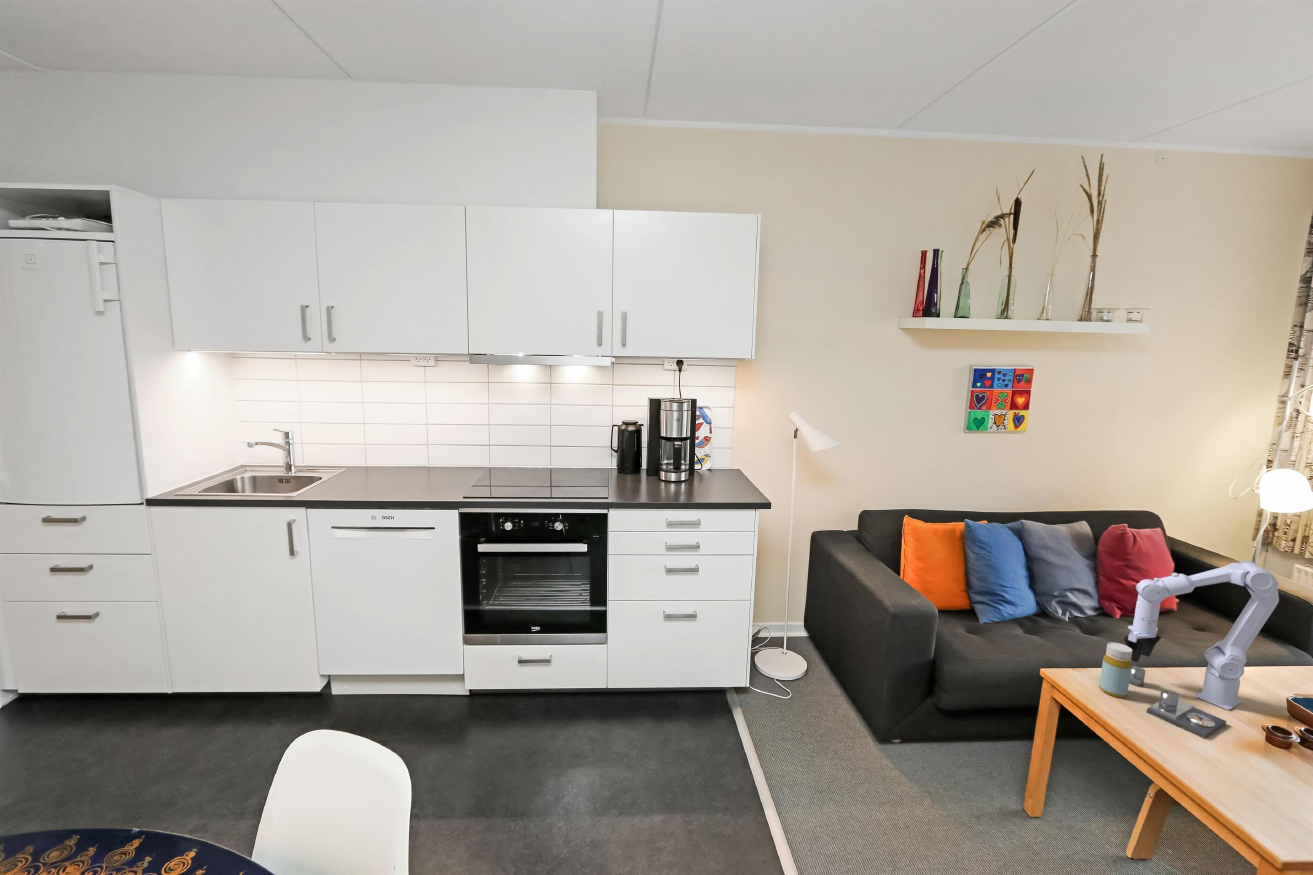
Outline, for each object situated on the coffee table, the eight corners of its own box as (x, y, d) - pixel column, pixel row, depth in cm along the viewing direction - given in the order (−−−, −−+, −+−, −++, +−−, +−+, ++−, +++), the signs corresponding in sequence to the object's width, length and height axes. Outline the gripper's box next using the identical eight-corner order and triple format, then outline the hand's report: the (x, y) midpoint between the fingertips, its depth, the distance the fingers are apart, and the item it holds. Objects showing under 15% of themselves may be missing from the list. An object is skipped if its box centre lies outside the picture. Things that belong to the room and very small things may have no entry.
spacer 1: (1130, 678, 196) (1133, 664, 195) (1145, 684, 192) (1147, 670, 192) (1124, 681, 194) (1127, 667, 193) (1139, 687, 191) (1141, 673, 190)
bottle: (1098, 683, 192) (1105, 639, 190) (1126, 691, 188) (1133, 646, 186) (1098, 692, 187) (1106, 647, 185) (1127, 701, 183) (1134, 655, 181)
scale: (1168, 700, 184) (1169, 693, 184) (1225, 724, 172) (1227, 717, 172) (1146, 712, 177) (1147, 705, 177) (1204, 738, 166) (1206, 731, 165)
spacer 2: (1156, 707, 176) (1158, 691, 175) (1161, 703, 178) (1164, 687, 178) (1173, 714, 173) (1175, 698, 172) (1178, 710, 175) (1181, 694, 174)
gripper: (1142, 608, 197) (1135, 647, 199) (1119, 616, 190) (1113, 656, 192) (1168, 617, 191) (1161, 657, 193) (1146, 626, 184) (1139, 667, 186)
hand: (1139, 657), depth 192 cm, fingers open, 7 cm apart
